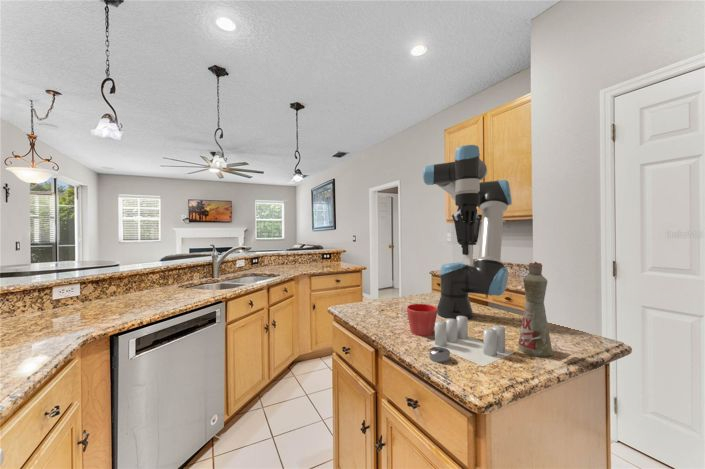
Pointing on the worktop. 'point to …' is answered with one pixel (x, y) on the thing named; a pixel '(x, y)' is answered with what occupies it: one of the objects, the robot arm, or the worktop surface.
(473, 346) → the board
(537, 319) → the bottle
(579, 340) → the worktop surface
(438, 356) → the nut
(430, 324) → the flower pot
